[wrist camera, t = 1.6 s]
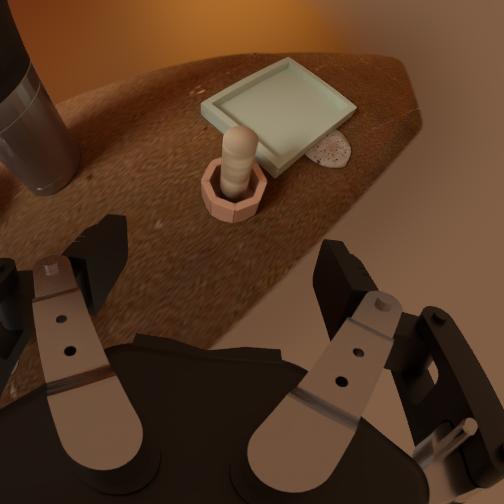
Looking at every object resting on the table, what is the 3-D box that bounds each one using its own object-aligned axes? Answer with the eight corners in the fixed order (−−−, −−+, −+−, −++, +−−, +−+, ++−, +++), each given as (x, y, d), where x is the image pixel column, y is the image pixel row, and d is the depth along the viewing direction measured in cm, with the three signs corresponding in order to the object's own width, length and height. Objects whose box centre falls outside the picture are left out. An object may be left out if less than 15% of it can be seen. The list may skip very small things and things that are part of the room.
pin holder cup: (195, 183, 35) (194, 166, 31) (245, 166, 37) (249, 148, 33) (217, 231, 34) (217, 218, 30) (269, 210, 35) (275, 196, 32)
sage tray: (274, 178, 37) (278, 168, 34) (201, 115, 38) (200, 103, 36) (351, 117, 42) (357, 107, 39) (285, 67, 43) (288, 56, 41)
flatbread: (285, 140, 39) (287, 136, 38) (318, 117, 41) (320, 113, 40) (330, 180, 38) (333, 177, 37) (359, 153, 40) (362, 149, 39)
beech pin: (215, 188, 35) (217, 131, 24) (238, 180, 35) (249, 122, 25) (225, 210, 34) (231, 157, 24) (249, 201, 35) (264, 147, 24)
